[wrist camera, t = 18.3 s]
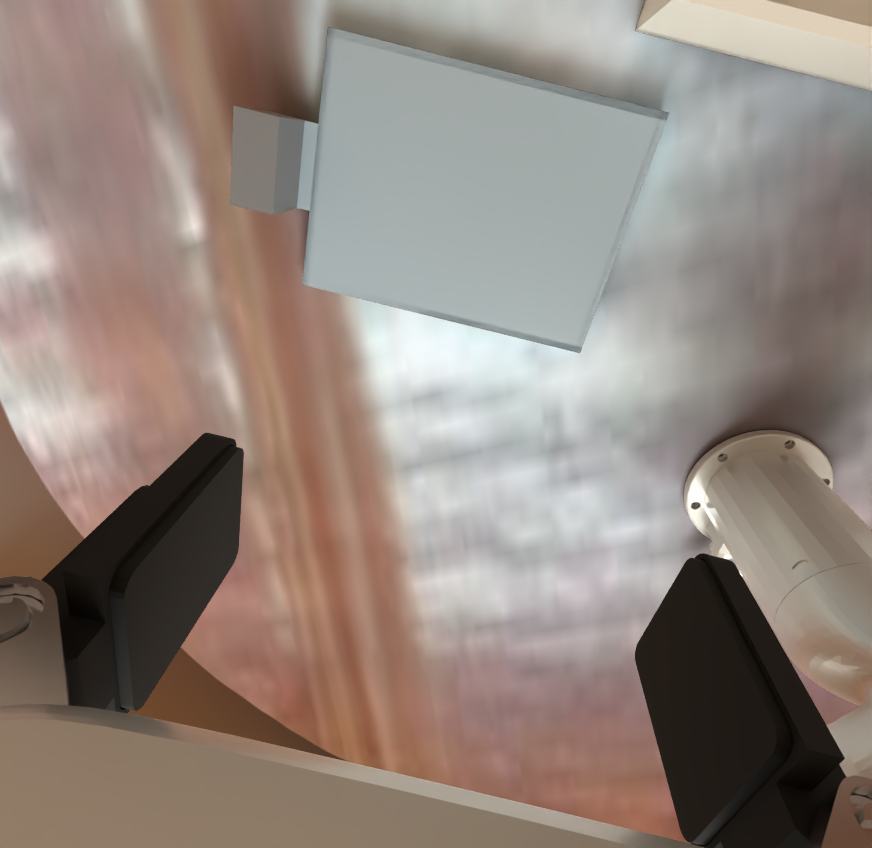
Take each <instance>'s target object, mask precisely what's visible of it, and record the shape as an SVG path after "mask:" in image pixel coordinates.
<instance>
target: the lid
mask: <svg viewBox="0 0 872 848" xmlns="http://www.w3.org/2000/svg"><path fill="white" fill-rule="evenodd" d="M668 114H669V113H668V112H664V111H660V110H656V109H652V108H648V107H644V106H640V105H636V104H632V103H628V102H624V101H620V100H617V99H613V98H609V97H605V96H601V95H597V94H593V93H589V92H585V91H581V90H577V89H573V88H569V87H565V86H561V85H557V84H553V83H549V82H545V81H541V80H537V79H533V78H529V77H525V76H521V75H517V74H513V73H509V72H505V71H502V70H498V69H494V68H490V67H486V66H482V65H478V64H474V63H470V62H466V61H462V60H458V59H454V58H450V57H446V56H442V55H438V54H434V53H430V52H426V51H422V50H418V49H414V48H410V47H406V46H402V45H398V44H394V43H390V42H387V41H383V40H379V39H375V38H371V37H367V36H363V35H359V34H355V33H351V32H347V31H343V30H339V29H335V28H331V27H328V30H327V40H326V50H325V60H324V70H323V80H322V91H321V101H320V111H319V121H318V123H314V122H310V121H306V120H302V119H298V118H294V117H290V116H286V115H282V114H278V113H274V112H270V111H265V110H259V109H252V108H246V107H240V106H234V107H233V138H232V169H231V200H230V205H234V206H238V207H242V208H246V209H250V210H254V211H258V212H262V213H266V214H270V215H275V214H278V213H281V212H285V211H288V210H291V209H295V208H300V209H304V210H308V211H310V212H309V222H308V232H307V242H306V252H305V262H304V272H303V282H302V285H306V286H310V287H314V288H318V289H322V290H327V291H331V292H335V293H339V294H343V295H347V296H351V297H355V298H359V299H363V300H367V301H371V302H375V303H379V304H383V305H387V306H391V307H395V308H399V309H403V310H408V311H412V312H416V313H420V314H424V315H428V316H432V317H436V318H440V319H444V320H448V321H452V322H456V323H460V324H464V325H468V326H472V327H476V328H480V329H484V330H488V331H493V332H497V333H501V334H505V335H509V336H513V337H517V338H521V339H525V340H529V341H533V342H537V343H541V344H545V345H549V346H553V347H557V348H561V349H565V350H569V351H574V352H578V353H580V351H581V349H582V346H583V343H584V341H585V338H586V335H587V333H588V330H589V327H590V325H591V322H592V319H593V316H594V314H595V311H596V308H597V306H598V303H599V300H600V298H601V295H602V292H603V290H604V287H605V284H606V281H607V279H608V276H609V273H610V271H611V268H612V265H613V263H614V260H615V257H616V255H617V252H618V249H619V246H620V244H621V241H622V238H623V236H624V233H625V230H626V228H627V225H628V222H629V220H630V217H631V214H632V211H633V209H634V206H635V203H636V201H637V198H638V195H639V193H640V190H641V187H642V185H643V182H644V179H645V176H646V174H647V171H648V168H649V166H650V163H651V160H652V158H653V155H654V152H655V150H656V147H657V144H658V141H659V139H660V136H661V133H662V131H663V128H664V125H665V123H666V120H667V117H668Z"/></svg>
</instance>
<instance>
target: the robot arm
mask: <svg viewBox="0 0 872 848" xmlns="http://www.w3.org/2000/svg"><path fill="white" fill-rule="evenodd" d="M243 458H244V452H243V449H242V448H238V447H236V442H235V440H234V439H231V438H227V437H223V436H219V435H215V434H211V433H204V434H203V435H202V436H201V437H200V438H199V439H197V440H196V441H195V442H194V443H193V444H192V445H191V446H190V447H189V448H188V449H187V450H186V451H185V452H184V453H183V454H182V455H181V456H180V457H179V458H178V459H177V460H176V461H175V462H174V463H173V464H172V465H171V466H170V467H169V468H168V469H167V470H166V471H165V472H164V473H163V474H161V475H160V476H159V477H158V478H157V479H156V480H155V481H154V482H153V483H152V484H151V485H150V486H148V485H146V486H142V487H140V488H139V489H137V490H136V491H135V492H134V493H133V494H132V495H130V496H129V497H128V498H127V499H126V500H125V501H124V502H123V503H122V504H121V505H120V506H119V507H118V508H117V509H116V510H115V511H114V512H113V513H111V514H110V515H109V516H108V517H107V518H106V519H105V520H104V521H103V522H102V523H101V524H100V525H99V526H98V527H97V528H96V529H95V530H94V531H92V532H91V533H90V534H89V535H88V536H87V537H86V538H85V539H84V540H83V541H82V542H81V543H80V544H79V545H78V546H77V547H76V548H75V549H74V550H73V551H71V552H70V553H69V554H68V555H67V556H66V557H65V558H64V559H63V560H62V561H61V562H60V563H59V564H58V565H57V566H56V567H55V568H53V569H52V570H51V571H50V572H49V573H48V574H47V575H46V576H45V577H44V578H43V579H42V580H39V579H36V578H32V577H23V576H10V577H3V578H0V848H872V530H871V529H870V528H869V527H868V526H867V525H866V524H865V523H864V522H863V521H862V520H861V519H860V518H859V517H858V516H857V515H856V514H855V513H854V512H853V511H852V510H851V509H850V508H849V506H848V505H847V504H846V503H845V502H844V501H843V500H842V499H841V498H840V497H839V496H838V495H837V494H836V493H835V492H834V491H833V482H834V476H833V471H832V467H831V465H830V463H829V461H828V459H827V457H826V456H825V455H824V454H823V453H822V451H821V450H820V449H819V448H818V447H816V446H815V445H814V444H813V443H812V442H810V441H809V440H807V439H805V438H803V437H801V436H800V435H797V434H793V433H790V432H787V431H778V430H760V431H753V432H748V433H744V434H741V435H738V436H735V437H732V438H729V439H728V440H726V441H724V442H722V443H720V444H718V445H716V446H715V447H714V448H712V449H711V450H710V451H708V452H707V453H706V454H705V455H704V456H703V457H702V458H701V459H700V460H699V461H698V462H697V463H696V464H695V466H694V467H693V469H692V470H691V472H690V474H689V476H688V478H687V481H686V483H685V489H684V505H685V508H686V511H687V514H688V515H689V517H690V519H691V521H692V523H693V524H694V525H695V527H696V528H697V529H698V530H699V531H700V532H701V533H703V534H704V535H705V536H706V537H708V538H710V539H712V541H711V543H710V544H709V550H710V553H709V554H704V553H703V554H699V555H697V556H696V557H695V558H690V559H688V560H687V561H686V562H685V564H684V566H683V567H682V569H681V571H680V572H679V574H678V576H677V577H676V579H675V581H674V583H673V584H672V586H671V588H670V589H669V591H668V593H667V594H666V596H665V598H664V600H663V601H662V603H661V605H660V606H659V608H658V610H657V611H656V613H655V615H654V616H653V618H652V620H651V622H650V623H649V625H648V627H647V628H646V630H645V632H644V633H643V635H642V637H641V639H640V640H639V642H638V644H637V647H636V651H635V661H636V665H637V669H638V673H639V676H640V680H641V684H642V688H643V691H644V695H645V699H646V703H647V706H648V710H649V714H650V718H651V721H652V725H653V729H654V733H655V736H656V740H657V744H658V748H659V751H660V755H661V759H662V762H663V766H664V770H665V774H666V777H667V781H668V785H669V789H670V792H671V796H672V800H673V804H674V807H675V811H676V815H677V819H678V822H679V826H680V830H681V832H682V835H683V837H684V838H685V840H686V841H688V842H690V843H691V844H689V843H685V842H681V841H677V840H673V839H668V838H664V837H660V836H656V835H652V834H648V833H644V832H640V831H636V830H632V829H627V828H623V827H619V826H615V825H611V824H607V823H603V822H599V821H595V820H590V819H586V818H582V817H578V816H574V815H570V814H566V813H562V812H558V811H553V810H549V809H545V808H541V807H537V806H533V805H528V804H524V803H520V802H516V801H512V800H507V799H503V798H499V797H495V796H491V795H486V794H482V793H478V792H474V791H470V790H465V789H461V788H457V787H453V786H449V785H444V784H440V783H436V782H432V781H427V780H423V779H419V778H415V777H411V776H406V775H402V774H398V773H394V772H389V771H385V770H381V769H377V768H372V767H368V766H364V765H359V764H355V763H351V762H346V761H342V760H338V759H333V758H329V757H325V756H320V755H316V754H312V753H308V752H303V751H299V750H295V749H290V748H286V747H281V746H277V745H273V744H269V743H264V742H260V741H256V740H251V739H247V738H243V737H238V736H234V735H230V734H225V733H220V732H215V731H211V730H206V729H201V728H197V727H192V726H187V725H183V724H178V723H173V722H168V721H164V720H159V719H154V718H149V717H145V716H140V715H134V714H128V712H129V710H135V711H137V710H139V709H140V708H141V707H142V706H143V705H144V703H145V702H146V701H147V699H148V697H149V696H150V694H151V693H152V691H153V690H154V688H155V686H156V684H157V683H158V681H159V680H160V679H161V677H162V675H163V674H164V672H165V670H166V669H167V667H168V666H169V664H170V663H171V661H172V660H173V658H174V656H175V655H176V653H177V652H178V650H179V649H180V647H181V645H182V644H183V642H184V641H185V639H186V638H187V636H188V634H189V633H190V631H191V630H192V628H193V627H194V625H195V623H196V622H197V620H198V619H199V617H200V616H201V614H202V612H203V611H204V609H205V608H206V606H207V605H208V603H209V601H210V600H211V598H212V597H213V595H214V594H215V592H216V590H217V589H218V587H219V586H220V584H221V583H222V581H223V579H224V578H225V576H226V575H227V573H228V571H229V570H230V568H231V567H232V565H233V563H234V561H235V559H236V556H237V553H238V547H239V531H240V513H241V494H242V476H243ZM733 561H734V562H735V563H733ZM743 578H744V579H743ZM744 580H745V581H746V583H747V585H748V586H747V585H746V583H745V581H744ZM748 587H749V588H750V590H751V592H752V593H751V592H750V590H749V588H748ZM752 594H753V595H754V597H755V599H756V601H757V602H758V604H759V606H760V608H761V609H760V608H759V606H758V604H757V602H756V601H755V599H754V597H753V595H752ZM761 610H762V611H763V613H764V615H765V616H764V615H763V613H762V611H761ZM765 617H766V618H767V620H768V622H769V623H768V622H767V620H766V618H765ZM769 624H770V625H771V627H772V629H773V630H772V629H771V627H770V625H769ZM773 631H774V632H775V634H776V636H777V637H776V636H775V634H774V632H773ZM777 638H778V639H779V641H780V643H781V645H782V646H783V648H784V650H785V652H786V653H787V655H788V656H789V657H790V659H791V660H792V662H793V663H794V664H795V665H796V666H797V667H798V668H799V669H800V670H801V671H802V672H803V673H804V674H805V675H806V676H807V677H809V678H810V679H811V680H812V681H814V682H815V683H816V684H818V685H820V686H821V687H823V688H824V689H826V690H828V691H829V692H831V693H833V694H835V695H837V696H839V697H841V698H843V699H845V700H847V701H849V702H852V703H854V704H856V705H859V706H860V707H858V708H857V709H855V710H853V711H851V712H850V713H848V714H846V715H844V716H842V717H840V718H838V720H836V721H834V722H832V723H830V724H828V725H826V724H825V722H824V720H823V718H822V717H821V715H820V713H819V711H818V710H817V708H816V706H815V704H814V703H813V701H812V699H811V697H810V696H809V694H808V692H807V690H806V689H805V687H804V685H803V683H802V682H801V680H800V678H799V676H798V674H797V673H796V671H795V669H794V667H793V666H792V664H791V662H790V660H789V659H788V657H787V655H786V653H785V652H784V650H783V648H782V646H781V645H780V643H779V641H778V639H777Z"/></svg>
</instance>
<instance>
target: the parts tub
mask: <svg viewBox="0 0 872 848" xmlns="http://www.w3.org/2000/svg"><path fill="white" fill-rule="evenodd" d="M635 31H637V32H641V33H645V34H649V35H653V36H657V37H661V38H664V39H668V40H672V41H676V42H680V43H684V44H688V45H692V46H696V47H700V48H704V49H708V50H712V51H716V52H720V53H724V54H728V55H732V56H736V57H739V58H743V59H747V60H751V61H755V62H759V63H763V64H767V65H771V66H775V67H779V68H783V69H787V70H791V71H795V72H799V73H803V74H807V75H811V76H815V77H818V78H822V79H826V80H830V81H834V82H838V83H842V84H846V85H850V86H854V87H858V88H862V89H866V90H870V91H872V0H645V2H644V5H643V8H642V12H641V15H640V18H639V21H638V24H637V27H636V30H635Z"/></svg>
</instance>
